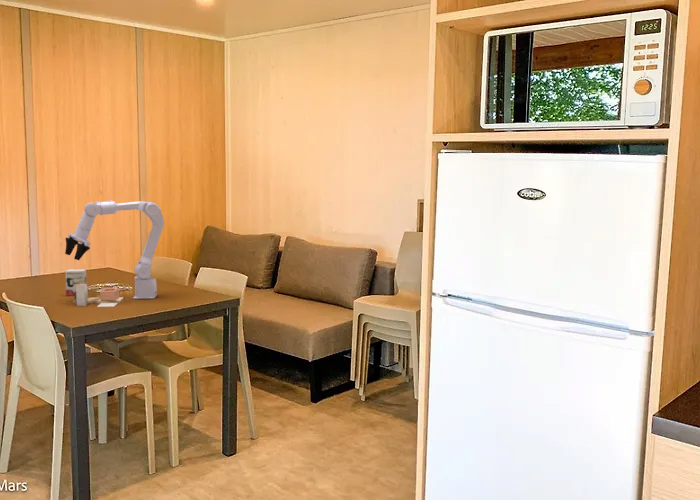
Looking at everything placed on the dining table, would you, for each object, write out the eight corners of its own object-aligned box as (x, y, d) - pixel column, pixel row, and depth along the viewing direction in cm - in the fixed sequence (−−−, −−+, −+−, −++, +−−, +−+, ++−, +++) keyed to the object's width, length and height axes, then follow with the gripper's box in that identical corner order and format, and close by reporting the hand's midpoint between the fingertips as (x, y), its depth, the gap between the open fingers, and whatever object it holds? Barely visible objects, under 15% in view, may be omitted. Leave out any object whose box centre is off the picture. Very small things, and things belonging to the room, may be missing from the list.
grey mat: (117, 303, 290) (117, 302, 290) (113, 307, 283) (113, 306, 283) (101, 303, 289) (101, 303, 289) (96, 307, 282) (96, 306, 282)
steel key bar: (87, 304, 289) (86, 283, 287) (85, 305, 285) (84, 285, 284) (79, 304, 288) (78, 283, 287) (76, 305, 285) (75, 285, 283)
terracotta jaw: (118, 296, 299) (118, 288, 298) (114, 300, 291) (114, 291, 290) (105, 296, 298) (104, 288, 297) (100, 300, 290) (100, 291, 290)
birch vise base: (123, 299, 299) (123, 286, 298) (119, 302, 291) (119, 289, 290) (77, 299, 297) (77, 286, 296) (72, 303, 289) (71, 290, 288)
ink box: (65, 296, 305) (64, 271, 303) (67, 294, 310) (66, 269, 308) (85, 295, 307) (84, 270, 305) (87, 293, 311) (86, 268, 310)
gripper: (67, 221, 291) (55, 250, 290) (85, 230, 283) (72, 259, 282) (80, 225, 297) (69, 253, 296) (98, 234, 288) (86, 263, 288)
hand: (72, 257), depth 289 cm, fingers open, 7 cm apart
